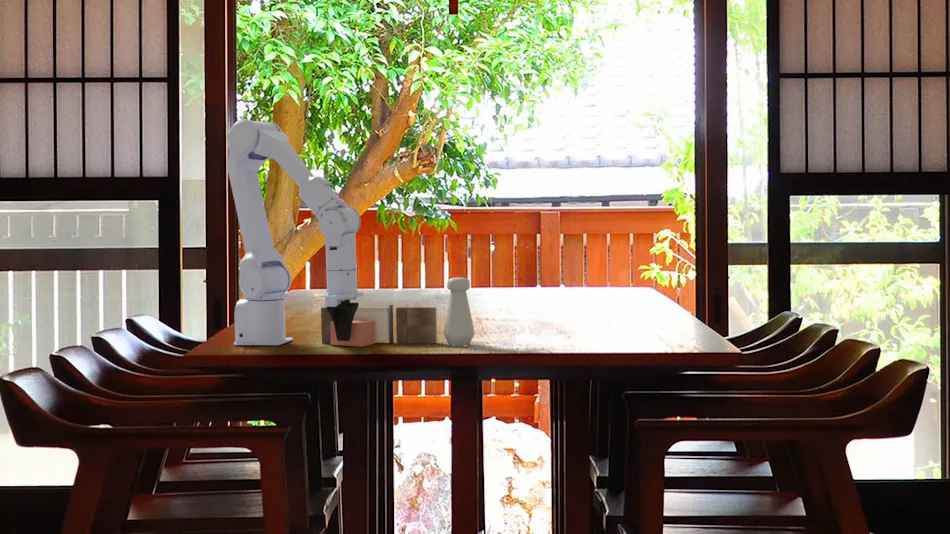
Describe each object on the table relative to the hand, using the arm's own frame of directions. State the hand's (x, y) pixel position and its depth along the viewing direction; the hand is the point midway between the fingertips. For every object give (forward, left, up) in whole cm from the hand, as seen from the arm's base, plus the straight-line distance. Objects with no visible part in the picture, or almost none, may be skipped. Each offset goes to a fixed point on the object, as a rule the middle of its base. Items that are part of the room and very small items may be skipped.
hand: (343, 340), depth 180 cm
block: (+1, +4, -1) cm, 4 cm away
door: (+2, +7, -1) cm, 7 cm away
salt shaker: (+22, +4, -2) cm, 22 cm away
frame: (+5, +6, -1) cm, 8 cm away
